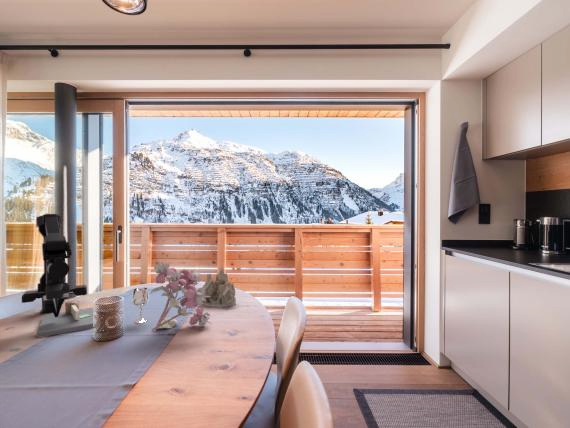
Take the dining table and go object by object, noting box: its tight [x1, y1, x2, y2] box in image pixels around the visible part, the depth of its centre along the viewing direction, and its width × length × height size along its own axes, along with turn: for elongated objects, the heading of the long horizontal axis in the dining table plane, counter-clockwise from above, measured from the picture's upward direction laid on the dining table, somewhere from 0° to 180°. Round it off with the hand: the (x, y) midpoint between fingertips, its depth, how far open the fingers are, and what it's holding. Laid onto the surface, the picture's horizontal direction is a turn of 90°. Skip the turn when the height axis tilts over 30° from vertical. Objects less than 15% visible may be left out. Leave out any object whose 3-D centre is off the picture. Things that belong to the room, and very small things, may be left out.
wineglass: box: [131, 287, 150, 324], centre depth 117 cm, size 6×6×12 cm
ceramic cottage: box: [201, 267, 237, 308], centre depth 139 cm, size 16×16×15 cm
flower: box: [149, 259, 212, 332], centre depth 110 cm, size 20×22×24 cm
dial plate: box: [36, 307, 94, 338], centre depth 116 cm, size 22×16×2 cm
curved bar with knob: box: [64, 300, 80, 320], centre depth 119 cm, size 15×4×4 cm, turn 42°
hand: (56, 317), depth 113 cm, fingers closed
